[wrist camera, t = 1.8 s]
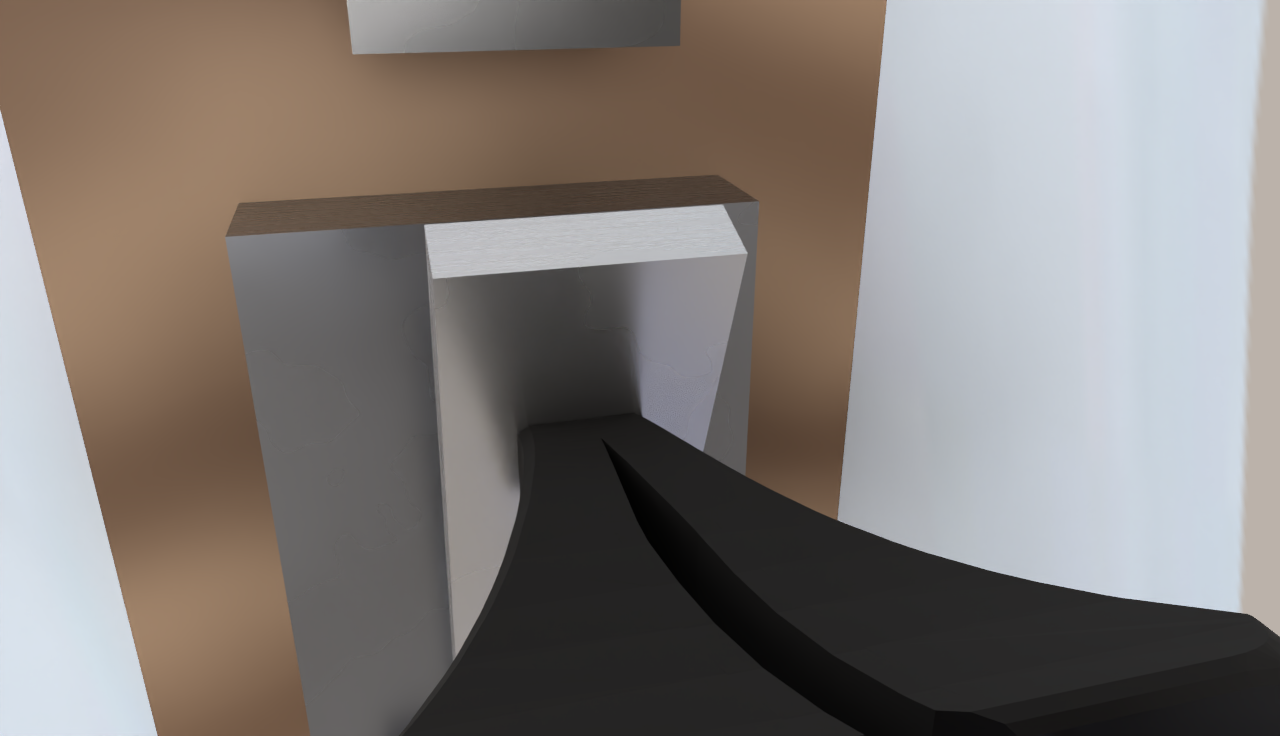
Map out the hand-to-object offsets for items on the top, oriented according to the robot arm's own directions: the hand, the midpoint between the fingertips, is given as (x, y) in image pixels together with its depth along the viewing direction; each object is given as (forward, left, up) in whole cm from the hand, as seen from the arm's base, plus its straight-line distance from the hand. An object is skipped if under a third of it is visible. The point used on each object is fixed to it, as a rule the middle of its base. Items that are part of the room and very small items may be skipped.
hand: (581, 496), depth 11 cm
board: (-3, 0, -8) cm, 9 cm away
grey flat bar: (-3, 0, -2) cm, 4 cm away
